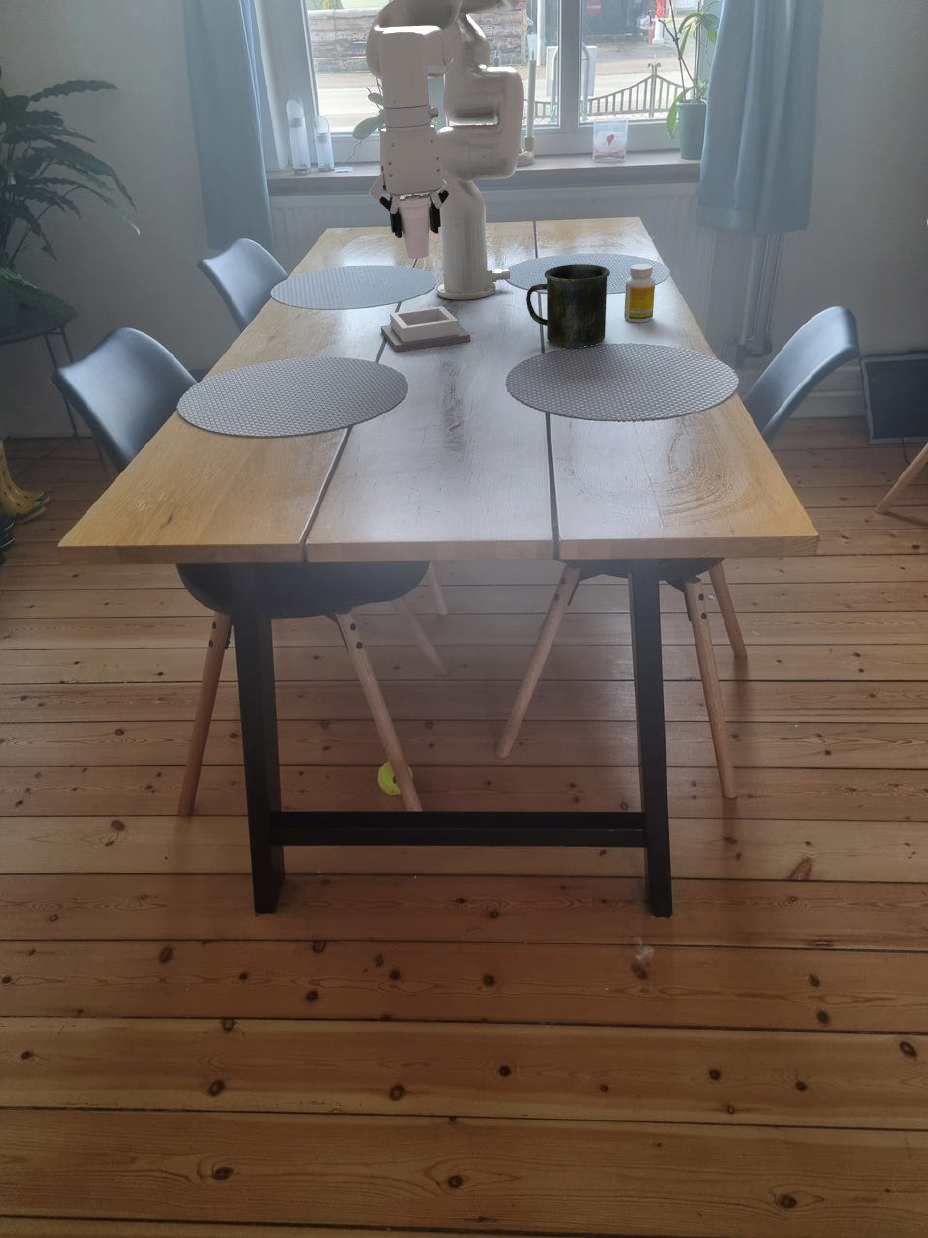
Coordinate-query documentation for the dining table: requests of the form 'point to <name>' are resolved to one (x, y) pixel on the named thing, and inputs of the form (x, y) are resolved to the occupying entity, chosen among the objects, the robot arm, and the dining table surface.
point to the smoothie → (415, 224)
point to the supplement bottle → (639, 294)
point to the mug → (574, 305)
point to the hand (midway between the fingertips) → (416, 233)
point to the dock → (423, 329)
